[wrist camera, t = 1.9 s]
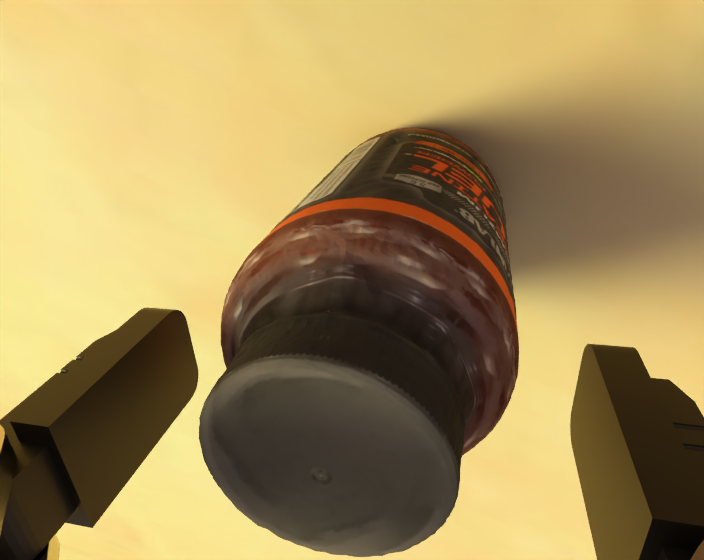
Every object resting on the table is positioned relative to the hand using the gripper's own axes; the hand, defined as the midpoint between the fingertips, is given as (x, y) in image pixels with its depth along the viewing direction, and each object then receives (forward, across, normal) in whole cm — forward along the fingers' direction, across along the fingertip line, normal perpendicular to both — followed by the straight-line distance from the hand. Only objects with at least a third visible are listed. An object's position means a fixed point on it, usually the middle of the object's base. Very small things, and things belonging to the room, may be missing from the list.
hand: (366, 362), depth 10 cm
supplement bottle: (+8, 0, 0) cm, 8 cm away
